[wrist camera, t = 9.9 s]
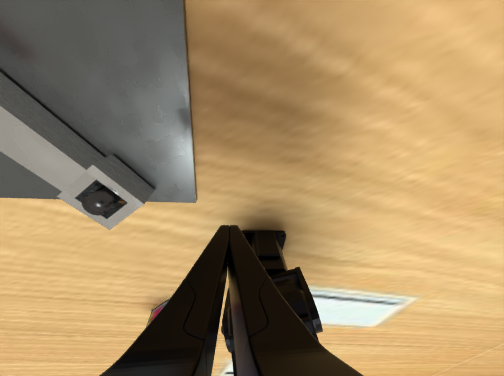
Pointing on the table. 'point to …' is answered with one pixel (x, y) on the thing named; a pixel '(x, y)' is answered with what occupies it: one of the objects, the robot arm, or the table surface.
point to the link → (64, 156)
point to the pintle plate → (105, 88)
